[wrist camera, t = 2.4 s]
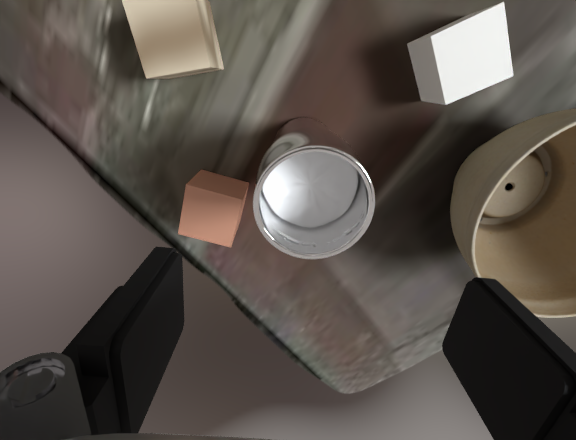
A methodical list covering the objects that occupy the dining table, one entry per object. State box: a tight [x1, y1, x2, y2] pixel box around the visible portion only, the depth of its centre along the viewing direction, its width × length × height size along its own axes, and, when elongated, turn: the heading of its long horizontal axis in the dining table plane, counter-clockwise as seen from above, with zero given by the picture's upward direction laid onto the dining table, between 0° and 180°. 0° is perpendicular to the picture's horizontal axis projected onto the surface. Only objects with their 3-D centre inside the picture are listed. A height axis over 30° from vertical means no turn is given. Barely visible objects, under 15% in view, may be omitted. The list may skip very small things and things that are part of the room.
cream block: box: [407, 2, 513, 105], centre depth 25 cm, size 5×5×5 cm
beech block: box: [122, 0, 224, 79], centre depth 24 cm, size 5×5×5 cm
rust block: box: [178, 169, 249, 247], centre depth 30 cm, size 5×5×5 cm
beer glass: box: [253, 117, 375, 259], centre depth 23 cm, size 7×7×15 cm
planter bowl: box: [450, 108, 576, 318], centre depth 26 cm, size 16×16×11 cm
